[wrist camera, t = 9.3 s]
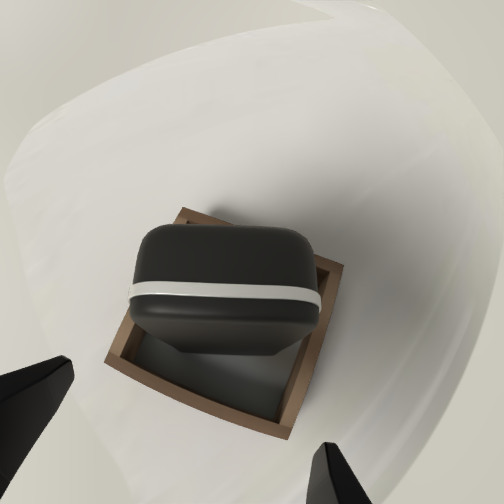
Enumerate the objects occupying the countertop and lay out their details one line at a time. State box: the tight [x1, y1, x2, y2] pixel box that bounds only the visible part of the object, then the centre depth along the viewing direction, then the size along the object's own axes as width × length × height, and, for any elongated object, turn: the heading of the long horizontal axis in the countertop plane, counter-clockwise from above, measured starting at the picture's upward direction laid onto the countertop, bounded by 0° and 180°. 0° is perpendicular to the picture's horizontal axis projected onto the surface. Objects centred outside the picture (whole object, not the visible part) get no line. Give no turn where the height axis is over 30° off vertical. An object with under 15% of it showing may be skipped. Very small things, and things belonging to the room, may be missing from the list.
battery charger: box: [128, 224, 321, 356], centre depth 14 cm, size 7×4×11 cm, turn 89°
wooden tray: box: [104, 207, 344, 440], centre depth 19 cm, size 12×12×4 cm
